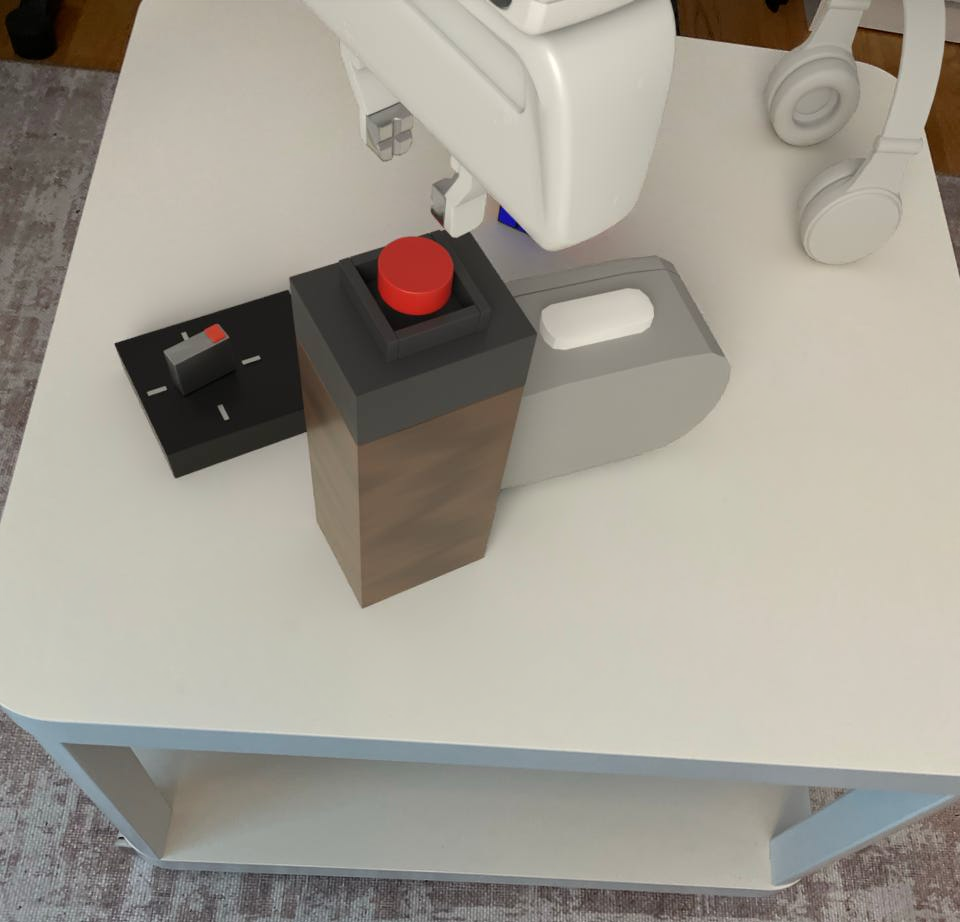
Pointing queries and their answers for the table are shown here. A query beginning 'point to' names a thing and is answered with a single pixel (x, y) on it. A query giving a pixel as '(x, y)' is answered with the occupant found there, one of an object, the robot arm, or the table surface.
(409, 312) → the button
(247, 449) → the panel
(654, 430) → the alarm clock
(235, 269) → the table surface
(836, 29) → the headphones
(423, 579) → the pillar
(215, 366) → the knob
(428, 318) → the block
